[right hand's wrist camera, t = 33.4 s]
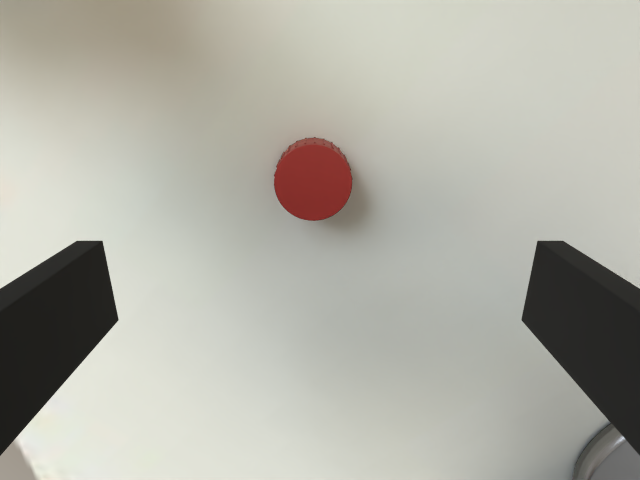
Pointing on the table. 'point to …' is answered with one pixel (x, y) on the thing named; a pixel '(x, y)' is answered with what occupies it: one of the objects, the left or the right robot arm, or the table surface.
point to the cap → (313, 179)
